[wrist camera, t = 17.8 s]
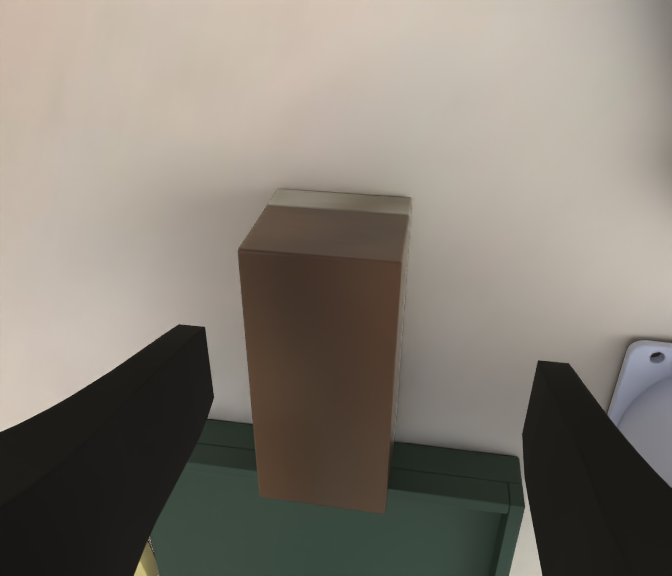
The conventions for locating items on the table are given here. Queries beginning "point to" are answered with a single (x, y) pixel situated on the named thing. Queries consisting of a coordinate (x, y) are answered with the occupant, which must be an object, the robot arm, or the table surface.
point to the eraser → (325, 343)
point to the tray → (340, 517)
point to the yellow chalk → (147, 563)
